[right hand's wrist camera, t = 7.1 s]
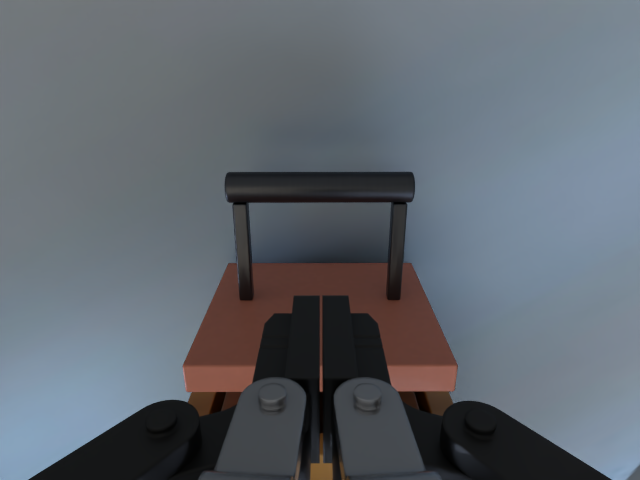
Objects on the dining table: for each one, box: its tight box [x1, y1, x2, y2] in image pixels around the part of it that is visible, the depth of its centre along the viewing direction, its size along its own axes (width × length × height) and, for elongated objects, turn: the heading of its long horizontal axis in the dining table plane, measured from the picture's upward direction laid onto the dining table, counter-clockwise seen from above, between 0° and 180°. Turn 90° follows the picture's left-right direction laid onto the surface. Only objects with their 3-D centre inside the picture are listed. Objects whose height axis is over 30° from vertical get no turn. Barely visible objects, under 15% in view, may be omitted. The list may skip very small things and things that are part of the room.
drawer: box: [183, 172, 458, 433], centre depth 23 cm, size 26×10×9 cm, turn 0°
